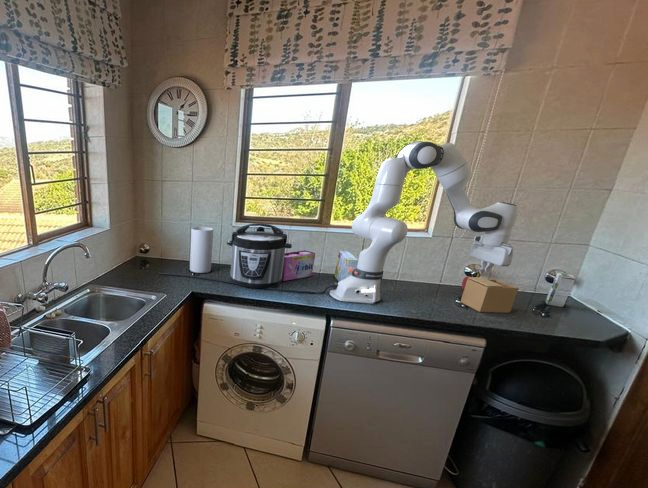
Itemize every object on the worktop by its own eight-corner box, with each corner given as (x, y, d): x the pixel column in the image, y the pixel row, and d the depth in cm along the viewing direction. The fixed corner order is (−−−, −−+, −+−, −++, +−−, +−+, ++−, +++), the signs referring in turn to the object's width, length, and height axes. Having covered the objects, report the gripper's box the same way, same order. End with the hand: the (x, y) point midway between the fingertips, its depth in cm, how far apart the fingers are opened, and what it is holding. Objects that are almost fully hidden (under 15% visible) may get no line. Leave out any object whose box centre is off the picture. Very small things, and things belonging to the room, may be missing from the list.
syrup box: (544, 301, 192) (556, 272, 187) (561, 304, 189) (573, 274, 184) (546, 304, 188) (558, 275, 183) (564, 307, 185) (576, 277, 180)
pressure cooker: (215, 280, 221) (219, 222, 209) (248, 272, 237) (254, 217, 225) (260, 294, 199) (268, 230, 187) (293, 284, 215) (302, 224, 203)
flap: (488, 286, 175) (488, 285, 175) (467, 278, 187) (468, 277, 186) (503, 286, 174) (503, 286, 174) (482, 278, 186) (482, 277, 186)
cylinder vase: (212, 269, 243) (215, 227, 233) (207, 274, 232) (210, 231, 223) (192, 267, 247) (194, 226, 238) (187, 272, 236) (189, 229, 227)
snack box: (353, 288, 209) (359, 260, 204) (342, 287, 210) (347, 259, 205) (343, 276, 229) (349, 250, 223) (333, 276, 230) (338, 250, 224)
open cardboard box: (479, 311, 179) (487, 287, 175) (460, 301, 191) (467, 278, 187) (510, 312, 178) (518, 288, 174) (488, 302, 190) (496, 279, 186)
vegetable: (460, 288, 210) (466, 270, 206) (485, 293, 204) (491, 274, 200) (458, 293, 202) (464, 274, 198) (484, 298, 196) (491, 278, 192)
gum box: (281, 281, 219) (285, 257, 214) (271, 278, 226) (274, 254, 221) (312, 276, 230) (316, 252, 225) (301, 272, 237) (304, 250, 232)
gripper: (521, 245, 165) (510, 278, 170) (486, 236, 184) (476, 265, 189) (506, 245, 166) (494, 277, 171) (471, 236, 185) (462, 265, 190)
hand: (484, 271), depth 180 cm, fingers closed
